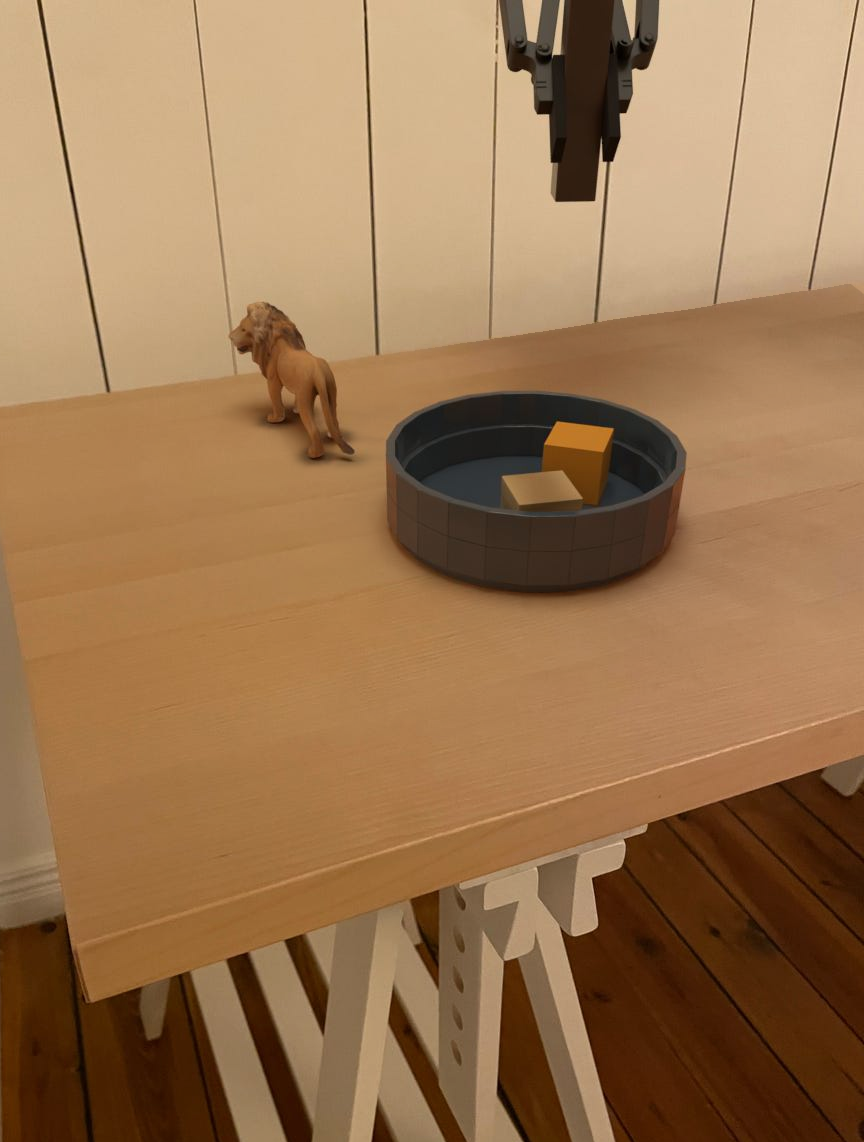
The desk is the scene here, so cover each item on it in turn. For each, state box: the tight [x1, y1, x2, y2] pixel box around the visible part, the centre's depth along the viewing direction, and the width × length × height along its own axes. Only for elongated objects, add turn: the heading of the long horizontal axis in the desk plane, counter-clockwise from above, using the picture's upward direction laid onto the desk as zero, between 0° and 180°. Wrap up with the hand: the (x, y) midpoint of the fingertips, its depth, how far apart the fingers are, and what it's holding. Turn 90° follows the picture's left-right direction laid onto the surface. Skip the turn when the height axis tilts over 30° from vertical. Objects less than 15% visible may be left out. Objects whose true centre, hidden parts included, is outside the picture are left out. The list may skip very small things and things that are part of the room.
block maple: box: [500, 470, 583, 512], centre depth 63 cm, size 4×4×4 cm
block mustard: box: [542, 422, 614, 506], centre depth 69 cm, size 4×4×4 cm
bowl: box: [385, 389, 687, 593], centre depth 67 cm, size 19×19×6 cm
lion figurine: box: [227, 301, 356, 459], centre depth 79 cm, size 15×5×9 cm, turn 36°
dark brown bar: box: [550, 0, 615, 203], centre depth 73 cm, size 3×3×13 cm
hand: (585, 149), depth 71 cm, fingers closed on dark brown bar, 3 cm apart
